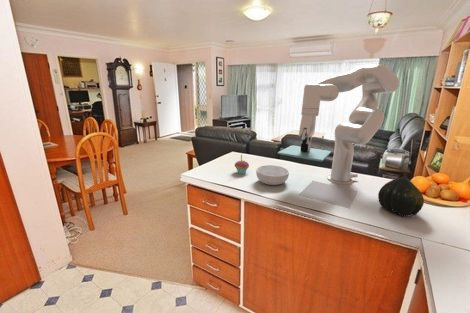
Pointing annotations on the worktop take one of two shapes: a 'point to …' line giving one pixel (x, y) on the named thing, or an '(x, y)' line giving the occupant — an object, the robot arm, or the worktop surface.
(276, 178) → the cereal bowl
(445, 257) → the worktop surface
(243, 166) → the cupcake
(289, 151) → the lid
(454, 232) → the worktop surface
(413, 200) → the squash
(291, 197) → the worktop surface
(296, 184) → the worktop surface
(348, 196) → the mat
